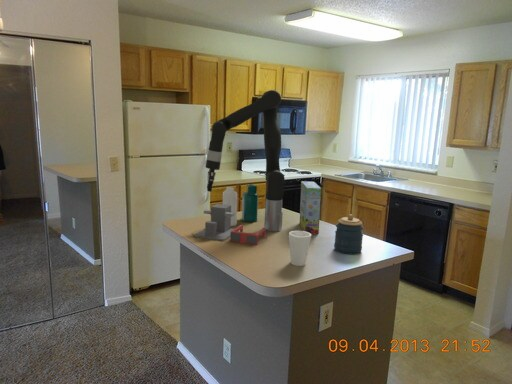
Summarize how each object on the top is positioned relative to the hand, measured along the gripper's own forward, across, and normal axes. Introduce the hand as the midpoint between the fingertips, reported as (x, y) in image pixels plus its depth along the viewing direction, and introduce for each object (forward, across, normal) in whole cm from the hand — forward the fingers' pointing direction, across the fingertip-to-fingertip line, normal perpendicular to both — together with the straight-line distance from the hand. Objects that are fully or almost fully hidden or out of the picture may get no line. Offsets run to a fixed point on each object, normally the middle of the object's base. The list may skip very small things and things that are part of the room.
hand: (209, 189), depth 202 cm
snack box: (+14, +4, -59) cm, 61 cm away
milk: (+20, +11, -15) cm, 28 cm away
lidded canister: (+14, -34, -68) cm, 77 cm away
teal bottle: (+19, +21, -28) cm, 40 cm away
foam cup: (+17, -50, -40) cm, 66 cm away
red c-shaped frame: (+19, -16, -23) cm, 34 cm away
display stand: (+21, -7, -7) cm, 24 cm away
